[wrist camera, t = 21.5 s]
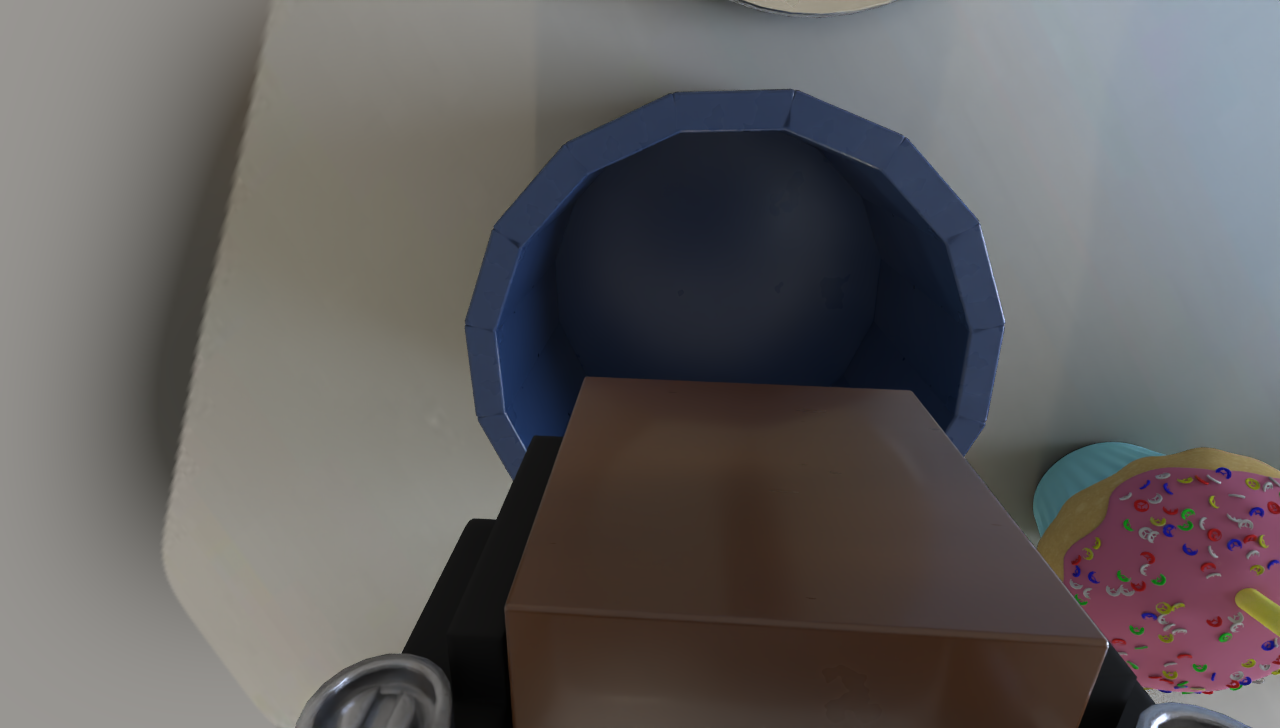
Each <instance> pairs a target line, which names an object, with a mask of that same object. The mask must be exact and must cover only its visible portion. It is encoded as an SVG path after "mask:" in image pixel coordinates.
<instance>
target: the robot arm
mask: <svg viewBox="0 0 1280 728" xmlns="http://www.w3.org/2000/svg"><path fill="white" fill-rule="evenodd" d="M562 440H563V437H560V436H538V435H535V436H533V438H532V440H531V442H530V444H529V447H528V449H527V451H526V453H525V456H524V458H523V460H522V463H521V465H520V467H519V469H518V472H517V474H516V476H515V478H514V481H513V483H512V485H511V488H510V490H509V492H508V494H507V497H506V499H505V501H504V504H503V506H502V508H501V510H500V513H499V515H498V517H497V519H496V520H492V519H472V520H470V521H469V522H468V524H467V525H466V527H465V528H464V530H463V532H462V534H461V536H460V538H459V540H458V542H457V544H456V546H455V548H454V550H453V552H452V554H451V556H450V558H449V560H448V562H447V564H446V566H445V568H444V570H443V572H442V574H441V576H440V578H439V580H438V582H437V584H436V586H435V588H434V590H433V592H432V594H431V596H430V598H429V600H428V602H427V604H426V606H425V608H424V610H423V612H422V614H421V616H420V618H419V620H418V622H417V624H416V626H415V628H414V630H413V631H412V633H411V635H410V637H409V639H408V641H407V643H406V645H405V647H404V649H403V651H402V653H401V654H385V655H381V656H376V657H372V658H368V659H365V660H362V661H360V662H358V663H356V664H354V665H352V666H349V667H347V668H345V669H343V670H342V671H340V672H339V673H338V674H336V675H335V676H333V677H332V678H331V679H329V680H328V681H327V682H325V683H324V684H323V685H322V686H321V687H320V688H319V689H318V690H317V691H316V693H315V694H314V695H313V696H312V697H311V698H310V699H309V700H308V701H307V703H306V705H305V707H304V709H303V711H302V713H301V715H300V717H299V719H298V721H297V723H296V726H295V728H513V722H512V709H511V695H510V681H509V668H508V654H507V640H506V627H505V613H504V606H505V603H506V601H507V598H508V595H509V592H510V589H511V586H512V583H513V580H514V578H515V575H516V572H517V569H518V566H519V563H520V560H521V558H522V555H523V552H524V549H525V546H526V543H527V540H528V538H529V535H530V532H531V529H532V526H533V523H534V520H535V517H536V515H537V512H538V509H539V506H540V503H541V500H542V497H543V495H544V492H545V489H546V486H547V483H548V480H549V477H550V475H551V472H552V469H553V466H554V463H555V460H556V457H557V454H558V452H559V449H560V446H561V443H562ZM967 462H968V461H967ZM968 463H969V462H968ZM970 466H971V465H970ZM971 467H972V466H971ZM972 468H973V467H972ZM974 471H975V470H974ZM975 472H976V471H975ZM978 476H979V475H978ZM979 477H980V476H979ZM981 480H982V479H981ZM982 481H983V480H982ZM983 482H984V481H983ZM985 485H986V484H985ZM986 486H987V485H986ZM989 490H990V489H989ZM990 491H991V490H990ZM992 494H993V493H992ZM993 495H994V494H993ZM994 496H995V495H994ZM996 499H997V498H996ZM997 500H998V499H997ZM1000 504H1001V503H1000ZM1001 505H1002V504H1001ZM1003 508H1004V507H1003ZM1004 509H1005V508H1004ZM1005 510H1006V509H1005ZM1007 513H1008V512H1007ZM1008 514H1009V513H1008ZM1011 518H1012V517H1011ZM1012 519H1013V518H1012ZM1014 522H1015V521H1014ZM1015 523H1016V522H1015ZM1016 524H1017V523H1016ZM1018 527H1019V526H1018ZM1019 528H1020V527H1019ZM1022 532H1023V531H1022ZM1023 533H1024V532H1023ZM1025 536H1026V535H1025ZM1026 537H1027V536H1026ZM1027 538H1028V537H1027ZM1029 541H1030V540H1029ZM1030 542H1031V541H1030ZM1033 546H1034V545H1033ZM1034 547H1035V546H1034ZM1037 551H1038V550H1037ZM1038 552H1039V551H1038ZM1040 555H1041V554H1040ZM1041 556H1042V555H1041ZM1044 560H1045V559H1044ZM1045 561H1046V560H1045ZM1048 565H1049V564H1048ZM1049 566H1050V565H1049ZM1051 569H1052V568H1051ZM1052 570H1053V569H1052ZM1055 574H1056V573H1055ZM1056 575H1057V574H1056ZM1059 579H1060V578H1059ZM1060 580H1061V579H1060ZM1062 583H1063V582H1062ZM1063 584H1064V583H1063ZM1066 588H1067V587H1066ZM1067 589H1068V588H1067ZM1070 593H1071V592H1070ZM1071 594H1072V593H1071ZM1073 597H1074V596H1073ZM1074 598H1075V597H1074ZM1077 602H1078V601H1077ZM1078 603H1079V602H1078ZM1081 607H1082V606H1081ZM1082 608H1083V607H1082ZM1084 611H1085V610H1084ZM1085 612H1086V611H1085ZM1088 616H1089V615H1088ZM1089 617H1090V616H1089ZM1092 621H1093V620H1092ZM1093 622H1094V621H1093ZM1095 625H1096V624H1095ZM1096 626H1097V625H1096ZM1099 630H1100V629H1099ZM1100 631H1101V630H1100ZM1103 635H1104V634H1103ZM1104 636H1105V635H1104ZM1106 639H1107V638H1106ZM1107 640H1108V639H1107ZM1108 643H1109V648H1108V651H1107V653H1106V656H1105V659H1104V661H1103V664H1102V666H1101V669H1100V672H1099V674H1098V677H1097V680H1096V682H1095V685H1094V687H1093V690H1092V693H1091V695H1090V698H1089V700H1088V703H1087V706H1086V708H1085V711H1084V714H1083V716H1082V719H1081V721H1080V724H1079V727H1078V728H1251V727H1249V726H1247V725H1245V724H1243V723H1241V722H1239V721H1237V720H1235V719H1233V718H1231V717H1229V716H1226V715H1224V714H1222V713H1219V712H1215V711H1212V710H1209V709H1206V708H1203V707H1200V706H1197V705H1191V704H1183V703H1175V702H1168V703H1161V704H1155V703H1154V701H1153V700H1152V699H1151V697H1150V696H1149V695H1148V694H1147V692H1146V691H1145V690H1144V689H1143V687H1142V686H1141V685H1140V683H1139V682H1138V681H1137V680H1136V679H1137V676H1136V675H1135V674H1134V672H1133V671H1132V670H1131V669H1130V667H1129V666H1128V665H1127V663H1126V662H1125V661H1124V660H1123V658H1122V657H1121V656H1120V655H1119V653H1118V652H1117V651H1116V649H1115V648H1114V647H1113V646H1112V644H1111V643H1110V642H1109V641H1108Z"/></svg>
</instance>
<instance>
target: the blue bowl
mask: <svg viewBox="0 0 1280 728" xmlns="http://www.w3.org/2000/svg"><path fill="white" fill-rule="evenodd" d="M465 324H466V325H465V334H466V342H467V349H468V357H469V365H470V373H471V380H472V388H473V396H474V403H475V411H476V416H477V417H478V421H479V423H480V425H481V427H482V428H483V430H484V432H485V434H486V435H487V437H488V439H489V440H490V442H491V444H492V446H493V447H494V449H495V451H496V453H497V454H498V456H499V458H500V459H501V461H502V463H503V465H504V466H505V468H506V470H507V472H508V473H509V475H510V477H511V478H512V480H513V481H514V478H515V476H516V474H517V472H518V469H519V467H520V465H521V463H522V460H523V458H524V456H525V453H526V451H527V449H528V447H529V444H530V442H531V440H532V438H533V436H535V435H538V436H560V437H564V434H565V432H566V429H567V426H568V423H569V420H570V417H571V414H572V411H573V409H574V406H575V403H576V400H577V397H578V394H579V391H580V389H581V386H582V383H583V380H584V378H585V377H608V378H632V379H655V380H679V381H702V382H726V383H749V384H773V385H796V386H819V387H843V388H866V389H890V390H910V391H912V392H913V393H914V394H915V396H916V397H917V398H918V399H919V401H920V402H921V403H922V405H923V406H924V407H925V408H926V410H927V411H928V412H929V413H930V415H931V416H932V417H933V418H934V420H935V421H936V422H937V424H938V425H939V426H940V427H941V429H942V430H943V431H944V432H945V434H946V435H947V436H948V438H949V439H950V440H951V441H952V443H953V444H954V445H955V446H956V448H957V449H958V450H959V452H960V453H961V454H962V455H963V457H964V456H965V455H966V453H967V452H968V450H969V449H970V447H971V446H972V444H973V443H974V441H975V440H976V438H977V437H978V435H979V434H980V432H981V431H982V429H983V428H984V427H985V424H986V423H985V422H986V420H987V417H988V412H989V407H990V401H991V396H992V391H993V386H994V381H995V376H996V370H997V365H998V360H999V355H1000V350H1001V345H1002V340H1003V334H1004V329H1005V327H1004V324H1005V318H1004V314H1003V310H1002V307H1001V303H1000V299H999V295H998V291H997V287H996V283H995V279H994V276H993V272H992V268H991V264H990V260H989V256H988V252H987V248H986V245H985V241H984V237H983V233H982V229H981V225H980V224H979V220H978V219H977V218H976V217H975V215H974V214H973V213H972V212H971V211H970V210H969V209H968V207H967V206H966V205H965V204H964V203H963V202H962V200H961V199H960V198H959V197H958V196H957V195H956V194H955V192H954V191H953V190H952V189H951V188H950V187H949V185H948V184H947V183H946V182H945V181H944V180H943V179H942V177H941V176H940V175H939V174H938V173H937V172H936V171H935V169H934V168H933V167H932V166H931V165H930V164H929V162H928V161H927V160H926V159H925V158H924V157H923V156H922V154H921V153H920V152H919V151H918V150H917V149H916V147H915V146H914V145H913V144H912V143H911V142H910V141H909V139H908V138H906V137H904V136H903V135H902V134H899V133H897V132H895V131H892V130H890V129H888V128H885V127H883V126H881V125H878V124H876V123H874V122H871V121H869V120H867V119H864V118H862V117H860V116H857V115H855V114H853V113H850V112H848V111H846V110H843V109H841V108H838V107H836V106H834V105H831V104H829V103H827V102H824V101H822V100H820V99H817V98H815V97H813V96H810V95H808V94H806V93H803V92H801V91H799V90H793V89H773V90H735V91H696V92H675V93H673V94H672V93H670V94H667V95H665V96H663V97H661V98H659V99H657V100H655V101H652V102H650V103H648V104H646V105H644V106H642V107H640V108H638V109H636V110H634V111H631V112H629V113H627V114H625V115H623V116H621V117H619V118H617V119H615V120H612V121H610V122H608V123H606V124H604V125H602V126H600V127H598V128H596V129H594V130H591V131H589V132H587V133H585V134H583V135H581V136H579V137H577V138H575V139H572V140H570V141H568V142H567V143H566V144H564V145H563V146H562V147H561V148H560V149H559V150H558V151H557V153H556V154H555V155H554V156H553V157H552V158H551V160H550V161H549V162H548V163H547V164H546V165H545V167H544V168H543V169H542V170H541V171H540V172H539V174H538V175H537V176H536V177H535V178H534V179H533V181H532V182H531V183H530V184H529V185H528V186H527V187H526V189H525V190H524V191H523V192H522V193H521V194H520V196H519V197H518V198H517V199H516V200H515V201H514V203H513V204H512V205H511V206H510V207H509V208H508V210H507V211H506V212H505V213H504V214H503V215H502V217H501V218H500V219H499V220H498V221H497V222H496V224H495V225H494V228H493V230H492V231H491V235H490V238H489V241H488V245H487V248H486V252H485V255H484V258H483V262H482V265H481V268H480V272H479V275H478V279H477V282H476V285H475V289H474V292H473V295H472V299H471V302H470V306H469V309H468V312H467V316H466V319H465Z"/></svg>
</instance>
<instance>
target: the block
mask: <svg viewBox="0 0 1280 728" xmlns="http://www.w3.org/2000/svg"><path fill="white" fill-rule="evenodd" d="M504 613H505V627H506V640H507V654H508V668H509V681H510V695H511V709H512V722H513V728H1078V727H1079V724H1080V721H1081V719H1082V716H1083V714H1084V711H1085V708H1086V706H1087V703H1088V700H1089V698H1090V695H1091V693H1092V690H1093V687H1094V685H1095V682H1096V680H1097V677H1098V674H1099V672H1100V669H1101V666H1102V664H1103V661H1104V659H1105V656H1106V653H1107V651H1108V648H1109V643H1108V640H1107V639H1106V637H1105V636H1104V635H1103V633H1102V632H1101V631H1100V630H1099V628H1098V627H1097V626H1096V625H1095V623H1094V622H1093V621H1092V619H1091V618H1090V617H1089V616H1088V614H1087V613H1086V612H1085V611H1084V609H1083V608H1082V607H1081V605H1080V604H1079V603H1078V602H1077V600H1076V599H1075V598H1074V597H1073V595H1072V594H1071V593H1070V591H1069V590H1068V589H1067V588H1066V586H1065V585H1064V584H1063V583H1062V581H1061V580H1060V579H1059V577H1058V576H1057V575H1056V574H1055V572H1054V571H1053V570H1052V569H1051V567H1050V566H1049V565H1048V563H1047V562H1046V561H1045V560H1044V558H1043V557H1042V556H1041V555H1040V553H1039V552H1038V551H1037V549H1036V548H1035V547H1034V546H1033V544H1032V543H1031V542H1030V541H1029V539H1028V538H1027V537H1026V536H1025V534H1024V533H1023V532H1022V530H1021V529H1020V528H1019V527H1018V525H1017V524H1016V523H1015V522H1014V520H1013V519H1012V518H1011V516H1010V515H1009V514H1008V513H1007V511H1006V510H1005V509H1004V508H1003V506H1002V505H1001V504H1000V502H999V501H998V500H997V499H996V497H995V496H994V495H993V494H992V492H991V491H990V490H989V488H988V487H987V486H986V485H985V483H984V482H983V481H982V480H981V478H980V477H979V476H978V474H977V473H976V472H975V471H974V469H973V468H972V467H971V466H970V464H969V463H968V462H967V460H966V459H965V458H964V457H963V455H962V454H961V453H960V452H959V450H958V449H957V448H956V446H955V445H954V444H953V443H952V441H951V440H950V439H949V438H948V436H947V435H946V434H945V432H944V431H943V430H942V429H941V427H940V426H939V425H938V424H937V422H936V421H935V420H934V418H933V417H932V416H931V415H930V413H929V412H928V411H927V410H926V408H925V407H924V406H923V405H922V403H921V402H920V401H919V399H918V398H917V397H916V396H915V394H914V393H913V392H912V391H910V390H890V389H866V388H843V387H819V386H796V385H773V384H749V383H726V382H702V381H679V380H655V379H632V378H608V377H585V378H584V380H583V383H582V386H581V389H580V391H579V394H578V397H577V400H576V403H575V406H574V409H573V411H572V414H571V417H570V420H569V423H568V426H567V429H566V432H565V434H564V437H563V440H562V443H561V446H560V449H559V452H558V454H557V457H556V460H555V463H554V466H553V469H552V472H551V475H550V477H549V480H548V483H547V486H546V489H545V492H544V495H543V497H542V500H541V503H540V506H539V509H538V512H537V515H536V517H535V520H534V523H533V526H532V529H531V532H530V535H529V538H528V540H527V543H526V546H525V549H524V552H523V555H522V558H521V560H520V563H519V566H518V569H517V572H516V575H515V578H514V580H513V583H512V586H511V589H510V592H509V595H508V598H507V601H506V603H505V606H504Z"/></svg>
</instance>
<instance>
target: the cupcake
mask: <svg viewBox="0 0 1280 728" xmlns="http://www.w3.org/2000/svg"><path fill="white" fill-rule="evenodd" d="M1033 512H1034V517H1035V520H1036V523H1037V526H1038V530H1039V533H1040V537H1041V539H1040V541H1039V543H1038V547H1037V550H1038V551H1039V553H1040V554H1041V555H1042V557H1043V558H1044V559H1045V560H1046V562H1047V563H1048V564H1049V565H1050V567H1051V568H1052V569H1053V571H1054V572H1055V573H1056V574H1057V576H1058V577H1059V578H1060V579H1061V581H1062V582H1063V583H1064V585H1065V586H1066V587H1067V588H1068V590H1069V591H1070V592H1071V593H1072V595H1073V596H1074V597H1075V599H1076V600H1077V601H1078V602H1079V604H1080V605H1081V606H1082V607H1083V609H1084V610H1085V611H1086V613H1087V614H1088V615H1089V616H1090V618H1091V619H1092V620H1093V621H1094V623H1095V624H1096V625H1097V627H1098V628H1099V629H1100V630H1101V632H1102V633H1103V634H1104V635H1105V637H1106V638H1107V639H1108V641H1109V642H1110V643H1111V644H1112V646H1113V647H1114V648H1115V649H1116V651H1117V652H1118V653H1119V655H1120V656H1121V657H1122V658H1123V660H1124V661H1125V662H1126V663H1127V665H1128V666H1129V667H1130V669H1131V670H1132V671H1133V672H1134V674H1135V675H1136V676H1137V679H1136V680H1137V681H1138V682H1139V683H1140V685H1141V686H1142V687H1145V688H1143V689H1144V690H1149V689H1158V690H1159V691H1161V692H1164V693H1171V692H1172V691H1176V692H1182V694H1190V693H1197V694H1200V693H1201V692H1202V693H1204V694H1213V691H1217V690H1223V689H1228V688H1230V689H1231V690H1238V689H1240V688H1241V687H1242V686H1243V685H1249V684H1250V683H1251V682H1252V683H1255V684H1261V683H1263V682H1264V681H1265V680H1264V678H1263V677H1266V676H1268V675H1270V674H1274V675H1277V674H1280V471H1278V470H1277V469H1275V468H1273V467H1271V466H1270V465H1268V464H1266V463H1264V462H1262V461H1259V460H1257V459H1254V458H1251V457H1247V456H1243V455H1238V454H1233V453H1229V452H1226V451H1222V450H1219V449H1214V448H1205V447H1201V448H1194V449H1190V450H1186V451H1183V452H1180V453H1176V454H1172V455H1165V454H1161V453H1158V452H1155V451H1151V450H1148V449H1145V448H1142V447H1140V446H1136V445H1133V444H1128V443H1121V442H1105V443H1097V444H1093V445H1089V446H1086V447H1083V448H1080V449H1078V450H1075V451H1073V452H1071V453H1070V454H1068V455H1066V456H1065V457H1063V458H1061V459H1060V460H1059V461H1058V462H1056V463H1055V464H1054V465H1053V466H1052V467H1051V468H1050V469H1049V470H1048V471H1047V472H1046V473H1045V475H1044V476H1043V477H1042V479H1041V481H1040V482H1039V484H1038V486H1037V489H1036V491H1035V495H1034V500H1033ZM1276 671H1278V672H1276ZM1260 679H1261V681H1257V680H1260ZM1255 680H1256V681H1255ZM1164 690H1166V691H1164ZM1208 691H1209V692H1208Z"/></svg>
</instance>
